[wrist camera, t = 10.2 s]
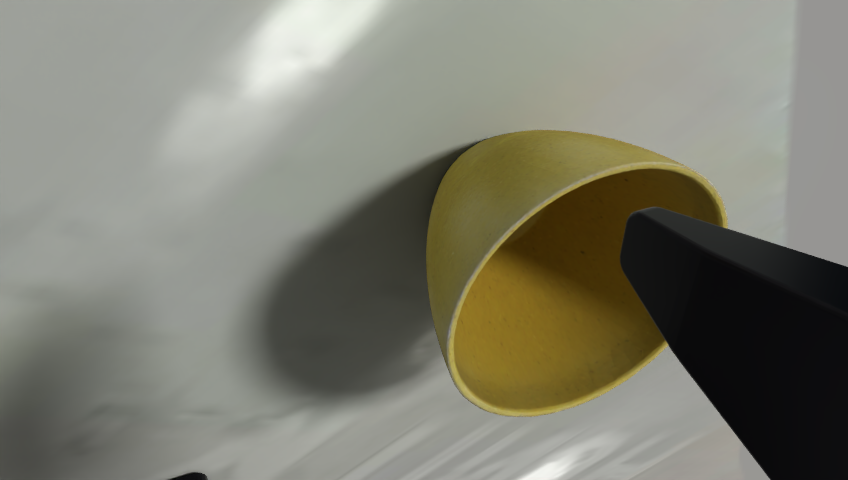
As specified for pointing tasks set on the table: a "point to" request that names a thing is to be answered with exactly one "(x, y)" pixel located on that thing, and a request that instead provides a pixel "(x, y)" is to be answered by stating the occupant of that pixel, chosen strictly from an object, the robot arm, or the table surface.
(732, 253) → the robot arm
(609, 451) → the table surface
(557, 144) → the yellow bowl
